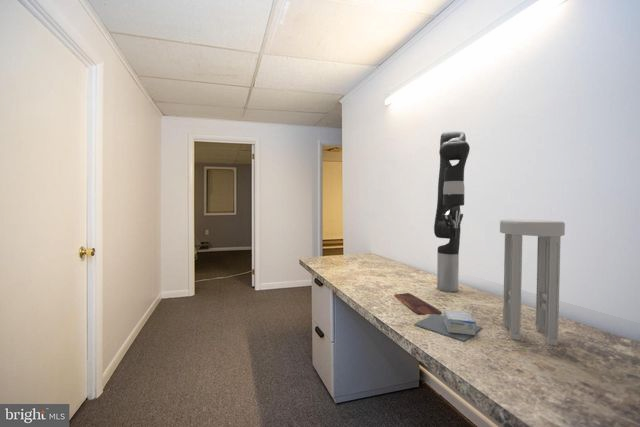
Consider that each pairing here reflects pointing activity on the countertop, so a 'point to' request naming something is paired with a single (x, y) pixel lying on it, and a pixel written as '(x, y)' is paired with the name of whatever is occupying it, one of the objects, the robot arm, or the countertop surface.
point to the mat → (442, 327)
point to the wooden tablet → (417, 304)
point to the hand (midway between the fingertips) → (453, 237)
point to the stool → (546, 275)
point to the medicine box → (459, 322)
